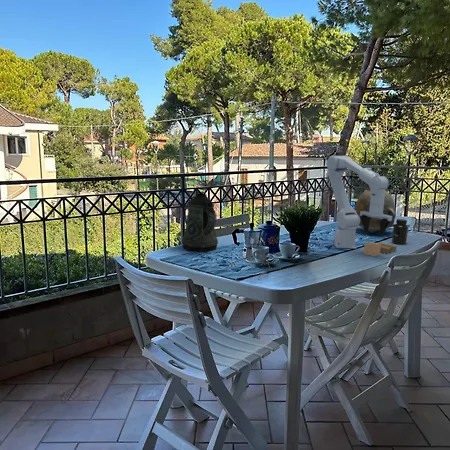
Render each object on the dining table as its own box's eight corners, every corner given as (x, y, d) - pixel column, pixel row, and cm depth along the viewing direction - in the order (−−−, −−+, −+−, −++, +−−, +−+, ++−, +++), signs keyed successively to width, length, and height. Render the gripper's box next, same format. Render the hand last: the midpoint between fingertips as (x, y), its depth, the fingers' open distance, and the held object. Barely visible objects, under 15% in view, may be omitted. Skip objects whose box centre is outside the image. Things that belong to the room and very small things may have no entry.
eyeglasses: (282, 272, 166) (282, 259, 165) (259, 281, 155) (259, 268, 154) (250, 263, 176) (250, 251, 175) (226, 271, 165) (226, 258, 164)
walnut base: (386, 255, 193) (387, 248, 192) (370, 251, 199) (371, 244, 198) (395, 252, 198) (396, 246, 197) (380, 248, 204) (380, 242, 203)
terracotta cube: (373, 256, 189) (374, 245, 188) (363, 254, 193) (364, 243, 192) (379, 254, 192) (380, 244, 191) (369, 252, 196) (370, 241, 195)
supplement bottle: (390, 243, 213) (393, 219, 210) (392, 240, 218) (395, 217, 216) (405, 245, 209) (408, 221, 207) (407, 242, 215) (409, 219, 213)
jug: (399, 232, 239) (405, 178, 232) (391, 239, 221) (397, 181, 215) (355, 226, 251) (359, 175, 245) (344, 232, 233) (349, 178, 227)
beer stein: (195, 241, 208) (195, 190, 202) (229, 247, 198) (231, 194, 193) (174, 248, 194) (174, 194, 189) (210, 255, 184) (211, 198, 179)
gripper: (397, 205, 185) (393, 235, 187) (367, 200, 195) (364, 229, 198) (388, 206, 180) (385, 238, 183) (358, 202, 191) (355, 231, 194)
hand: (373, 233), depth 190 cm, fingers open, 7 cm apart
